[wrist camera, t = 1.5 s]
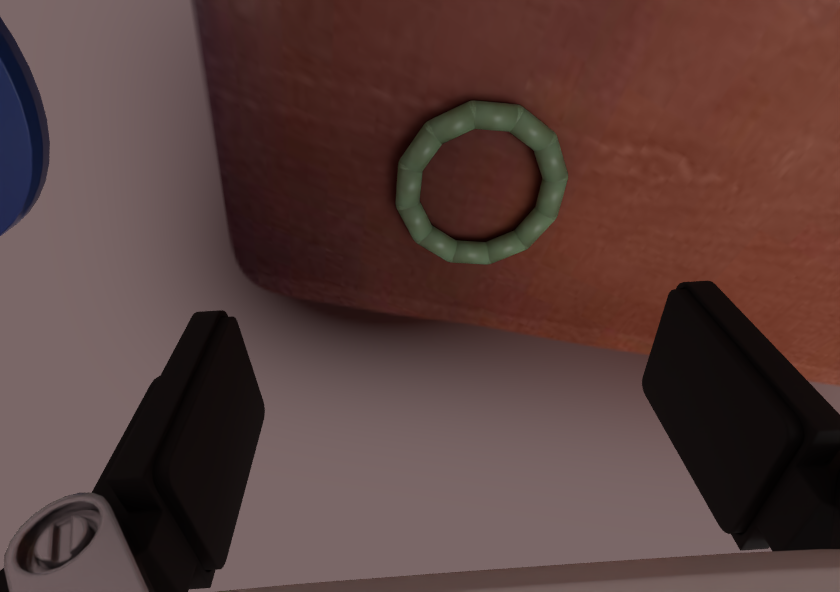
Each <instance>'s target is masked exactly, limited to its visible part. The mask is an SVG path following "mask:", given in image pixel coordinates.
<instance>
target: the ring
mask: <svg viewBox="0 0 840 592" xmlns="http://www.w3.org/2000/svg"><path fill="white" fill-rule="evenodd" d="M473 129H484V130H496V131H508V132H510V133H511V134H513V135H514V136H515V137H517V138H518V139H519V140H521V141H522V142H523V143H524V144H526V145H527V146H528V147H530V148H531V149H532V150H533V151H534V154H535V157H536V160H537V163H538V166H539V169H540V172H541V175H542V182H541V186H540V190H539V194H538V198H537V202H536V206H535V208H534V209H533V210H532V211H531V212H530V214H529V215H528V216H527V217H526V218H525V219H524V220H523V221H522V222H521V224H520V225H519V226H518V227H517V228H516V229H515V230H514V231H511V232H509V233H507V234H504V235H502V236H499V237H497V238H494V239H492V240H490V241H487V242H475V241H459V240H454V239H453V238H451V237H450V236H448V235H446V234H445V233H443V232H442V231H440V230H438V229H437V228H435V227H434V226H432V225H431V223H430V221H429V219H428V217H427V215H426V213H425V211H424V209H423V207H422V205H421V203H420V191H421V181H422V171H423V170H424V168H425V167H426V166H427V164H428V163H429V161H430V160H431V159H432V157H433V156H434V155H435V153H436V152H437V151H438V149H439V148H440V146H441V145H442V144H443V143H445V142H447V141H449V140H452V139H454V138H456V137H458V136H460V135H462V134H464V133H467V132H469V131H471V130H473ZM567 180H568V172H567V169H566V165H565V162H564V159H563V155H562V152H561V148H560V145H559V141H558V138H557V135H556V134H555V132H554V131H552V130H551V129H550V128H549V127H547V126H546V125H545V124H544V123H542V122H541V121H540V120H539V119H537V118H536V117H535V116H534V115H532V114H531V113H530V112H529V111H527V110H526V109H525V108H524V107H522V106H521V105H518V104H509V103H497V102H486V101H469V102H466V103H464V104H462V105H460V106H458V107H456V108H454V109H452V110H450V111H447V112H445V113H443V114H441V115H439V116H437V117H435V118H433V119H431V120H429V121H427V122H426V123H425V124H424V125H423V127H422V128H421V130H420V131H419V132H418V134H417V135H416V137H415V138H414V140H413V141H412V142H411V144H410V145H409V147H408V148H407V150H406V151H405V153H404V154H403V155H402V157H401V158H400V160H399V163H398V173H397V188H396V202H395V204H396V208H397V210H398V212H399V214H400V215H401V217H402V219H403V221H404V223H405V225H406V227H407V228H408V230H409V232H410V234H411V236H412V238H413V240H414V241H415V242H416V243H417V244H419V245H421V246H422V247H424V248H426V249H427V250H429V251H431V252H432V253H434V254H436V255H437V256H439V257H441V258H442V259H444V260H446V261H448V262H453V263H470V264H492V263H494V262H497V261H499V260H502V259H504V258H507V257H509V256H512V255H514V254H517V253H519V252H522V251H524V250H526V249H528V248H529V247H530V246H531V245H532V244H533V243H534V242H535V241H536V240H537V239H538V238H539V236H540V235H541V234H542V233H543V232H544V231H545V230H546V229H547V228H548V227H549V226H550V225H551V224H552V223H553V222H554V220H555V219H556V218H557V216H558V212H559V209H560V205H561V202H562V198H563V194H564V191H565V187H566V184H567Z"/></svg>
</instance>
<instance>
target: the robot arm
mask: <svg viewBox="0 0 840 592" xmlns="http://www.w3.org/2000/svg"><path fill="white" fill-rule="evenodd" d="M642 386H643V391H644V393H645V396H646V397H647V399H648V400H649V403H650V404H651V406H652V408H653V410H654V411H655V413H656V415H657V417H658V419H659V420H660V422H661V424H662V426H663V427H664V429H665V431H666V433H667V434H668V436H669V438H670V440H671V441H672V443H673V445H674V447H675V449H676V450H677V452H678V454H679V456H680V457H681V459H682V461H683V463H684V464H685V466H686V468H687V470H688V472H689V473H690V475H691V477H692V478H693V480H694V482H695V484H696V486H697V487H698V489H699V491H700V493H701V495H702V496H703V498H704V500H705V501H706V503H707V505H708V507H709V509H710V510H711V512H712V514H713V516H714V518H715V519H716V521H717V523H718V524H719V526H720V527H721V529H722V530H723V531H724V532H726V533H728V534H731V535H732V536H733V538H734V540H735V542H736V543H737V545H738V547H739V549H740V550H753V549H768V548H769V547H770V548H771V550H772V552H751V553H731V554H716V555H702V556H686V557H670V558H656V559H640V560H624V561H610V562H595V563H580V564H565V565H551V566H537V567H522V568H508V569H494V570H480V571H467V572H452V573H438V574H425V575H412V576H400V577H385V578H372V579H359V580H346V581H333V582H319V583H306V584H294V585H283V586H272V587H262V588H252V589H241V590H229V591H219V592H840V415H839V413H838V412H837V411H836V410H835V409H833V407H832V406H831V405H830V404H829V403H828V402H827V401H826V400H825V399H824V398H823V397H822V396H821V395H820V394H819V393H818V392H817V391H816V389H815V388H814V387H813V386H812V385H811V384H810V383H809V382H808V381H807V380H806V379H805V378H804V377H803V376H802V375H801V374H800V373H799V372H798V371H797V369H796V368H795V367H794V366H793V365H792V364H791V363H790V362H789V361H788V360H787V359H786V358H785V357H784V356H783V355H782V354H781V353H780V352H779V351H778V350H777V349H776V347H775V346H774V345H773V344H772V343H771V342H770V341H769V340H768V339H767V338H766V337H765V336H764V335H763V334H762V333H761V332H760V331H759V330H758V329H757V328H756V327H755V326H754V324H753V323H752V322H751V321H750V320H749V319H748V318H747V317H746V316H745V315H744V314H743V313H742V312H741V311H740V310H739V309H738V308H737V307H736V306H735V305H734V304H733V303H732V301H731V300H730V299H729V298H728V297H727V296H726V295H725V294H724V293H723V292H722V291H721V290H720V289H719V288H718V287H717V286H716V285H715V284H714V283H713V282H711V281H696V282H683V283H680V284H679V285H678V286H677V288H676V289H674V290H671V292H670V293H669V295H668V298H667V301H666V304H665V308H664V311H663V314H662V317H661V320H660V324H659V327H658V330H657V333H656V336H655V340H654V343H653V346H652V349H651V352H650V356H649V359H648V362H647V365H646V369H645V372H644V375H643V379H642ZM264 409H265V408H264V402H263V399H262V396H261V393H260V390H259V387H258V384H257V381H256V378H255V374H254V372H253V368H252V365H251V362H250V359H249V356H248V353H247V350H246V347H245V344H244V341H243V338H242V335H241V331H240V328H239V325H238V322H237V320H236V318H234V317H228V315H227V314H226V312H225V311H206V312H196V313H194V315H193V316H192V318H191V319H190V321H189V323H188V325H187V327H186V329H185V331H184V333H183V334H182V336H181V338H180V340H179V342H178V344H177V346H176V348H175V349H174V351H173V353H172V355H171V357H170V359H169V361H168V363H167V365H166V366H165V368H164V370H163V372H162V374H161V376H159V377H157V378H156V379H154V381H153V382H152V383H151V385H150V387H149V388H148V390H147V392H146V394H145V396H144V398H143V399H142V401H141V403H140V405H139V407H138V409H137V410H136V412H135V414H134V416H133V418H132V420H131V421H130V423H129V425H128V427H127V429H126V431H125V432H124V435H123V436H122V438H121V440H120V442H119V443H118V445H117V447H116V449H115V451H114V453H113V454H112V456H111V458H110V460H109V462H108V464H107V465H106V467H105V469H104V471H103V473H102V475H101V476H100V479H99V480H98V482H97V484H96V486H95V487H94V490H93V491H92V493H77V494H73V495H69V496H65V497H63V498H61V499H59V500H56V501H54V502H52V503H50V504H48V505H47V506H45V507H44V508H42V509H41V510H40V511H38V512H36V513H35V514H34V515H33V516H31V517H30V518H29V519H28V520H27V521H26V522H25V523H24V524H23V525H22V526H21V527H20V528H19V530H18V531H17V532H16V534H15V535H14V537H13V538H12V540H11V541H10V543H9V546H8V548H7V550H6V553H5V555H4V568H3V569H2V570H1V571H0V592H188V590H189V589H199V588H210V587H211V584H212V580H213V576H214V573H215V569H221V568H222V567H223V566H224V564H225V562H226V559H227V555H228V552H229V547H230V544H231V540H232V537H233V533H234V529H235V525H236V522H237V518H238V514H239V510H240V507H241V503H242V499H243V495H244V492H245V488H246V484H247V480H248V477H249V473H250V469H251V465H252V462H253V458H254V454H255V450H256V446H257V442H258V439H259V435H260V432H261V428H262V424H263V420H264V413H265V410H264Z"/></svg>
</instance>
